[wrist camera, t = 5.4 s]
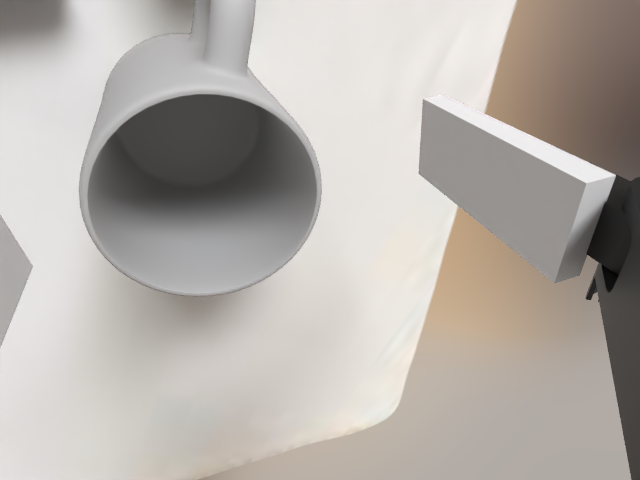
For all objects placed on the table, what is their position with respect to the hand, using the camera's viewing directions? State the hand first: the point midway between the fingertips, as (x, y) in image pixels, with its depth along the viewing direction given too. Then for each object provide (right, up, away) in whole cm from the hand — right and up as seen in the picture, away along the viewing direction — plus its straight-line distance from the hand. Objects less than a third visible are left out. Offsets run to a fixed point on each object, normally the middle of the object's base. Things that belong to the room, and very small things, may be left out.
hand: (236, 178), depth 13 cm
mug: (-4, +7, +10) cm, 13 cm away
